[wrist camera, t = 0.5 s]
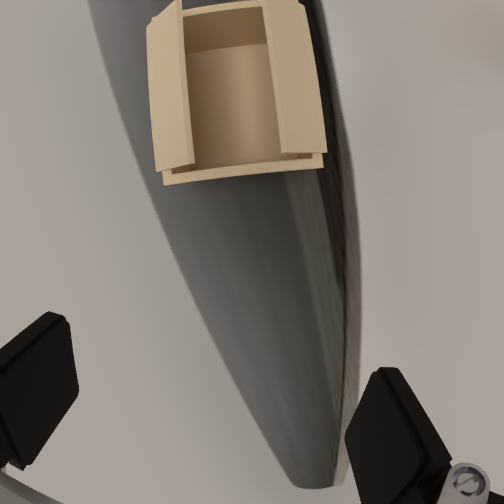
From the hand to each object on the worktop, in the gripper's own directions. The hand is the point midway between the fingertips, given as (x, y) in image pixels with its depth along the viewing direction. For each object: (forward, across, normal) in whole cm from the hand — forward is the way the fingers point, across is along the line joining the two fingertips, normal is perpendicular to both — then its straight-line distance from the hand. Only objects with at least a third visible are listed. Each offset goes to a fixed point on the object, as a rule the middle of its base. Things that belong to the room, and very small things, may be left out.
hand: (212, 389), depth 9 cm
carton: (+28, +3, -13) cm, 31 cm away
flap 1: (+17, +7, -12) cm, 22 cm away
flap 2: (+17, -2, -15) cm, 22 cm away
